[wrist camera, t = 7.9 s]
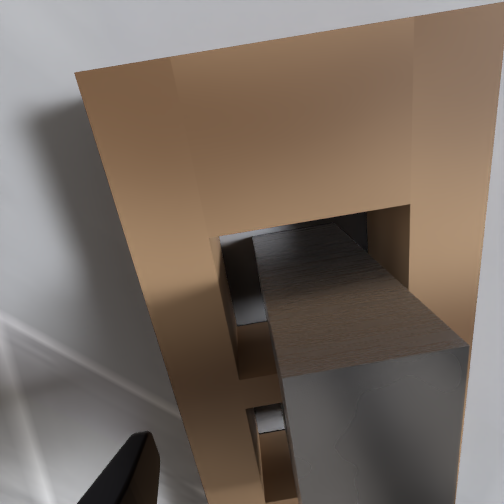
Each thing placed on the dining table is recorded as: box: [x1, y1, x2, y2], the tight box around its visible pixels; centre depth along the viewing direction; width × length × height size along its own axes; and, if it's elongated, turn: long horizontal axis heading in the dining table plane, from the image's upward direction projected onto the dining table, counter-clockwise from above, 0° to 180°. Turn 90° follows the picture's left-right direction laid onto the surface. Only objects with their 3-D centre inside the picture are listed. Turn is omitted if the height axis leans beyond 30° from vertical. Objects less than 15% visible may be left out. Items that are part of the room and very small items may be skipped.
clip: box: [252, 223, 470, 504], centre depth 8 cm, size 7×2×6 cm, turn 9°
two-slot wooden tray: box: [74, 2, 504, 504], centre depth 10 cm, size 16×8×2 cm, turn 9°
